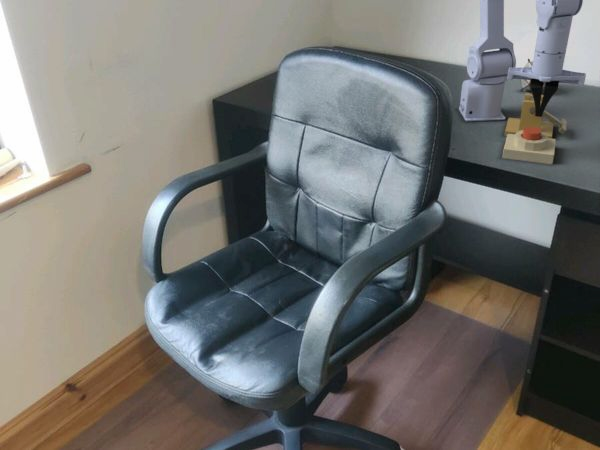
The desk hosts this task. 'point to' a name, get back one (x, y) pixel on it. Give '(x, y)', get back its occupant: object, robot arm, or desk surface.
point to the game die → (526, 83)
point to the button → (531, 133)
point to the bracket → (528, 119)
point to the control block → (529, 148)
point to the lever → (554, 120)
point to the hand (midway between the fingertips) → (538, 114)
